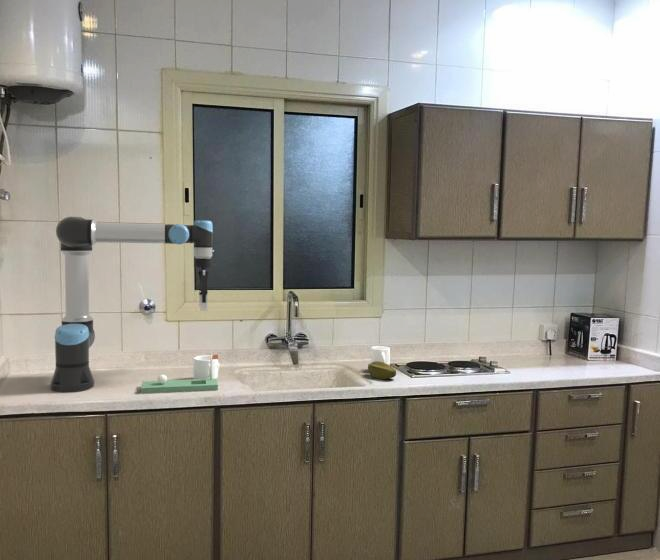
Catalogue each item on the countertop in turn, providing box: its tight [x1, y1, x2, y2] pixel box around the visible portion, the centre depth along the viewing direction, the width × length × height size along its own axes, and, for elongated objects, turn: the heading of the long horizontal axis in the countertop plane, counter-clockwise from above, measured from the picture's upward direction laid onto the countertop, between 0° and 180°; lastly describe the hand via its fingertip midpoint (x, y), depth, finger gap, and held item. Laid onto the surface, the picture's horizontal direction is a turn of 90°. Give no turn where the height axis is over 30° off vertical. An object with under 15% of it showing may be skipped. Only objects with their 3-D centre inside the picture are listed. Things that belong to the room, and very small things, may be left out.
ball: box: [156, 374, 168, 384], centre depth 227 cm, size 4×4×4 cm
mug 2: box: [370, 345, 391, 366], centre depth 264 cm, size 12×8×10 cm
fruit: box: [367, 361, 397, 380], centre depth 254 cm, size 11×12×7 cm
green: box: [140, 354, 219, 394], centre depth 229 cm, size 29×10×12 cm, turn 105°
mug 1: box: [193, 354, 221, 380], centre depth 242 cm, size 12×10×9 cm
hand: (203, 308), depth 250 cm, fingers open, 13 cm apart
